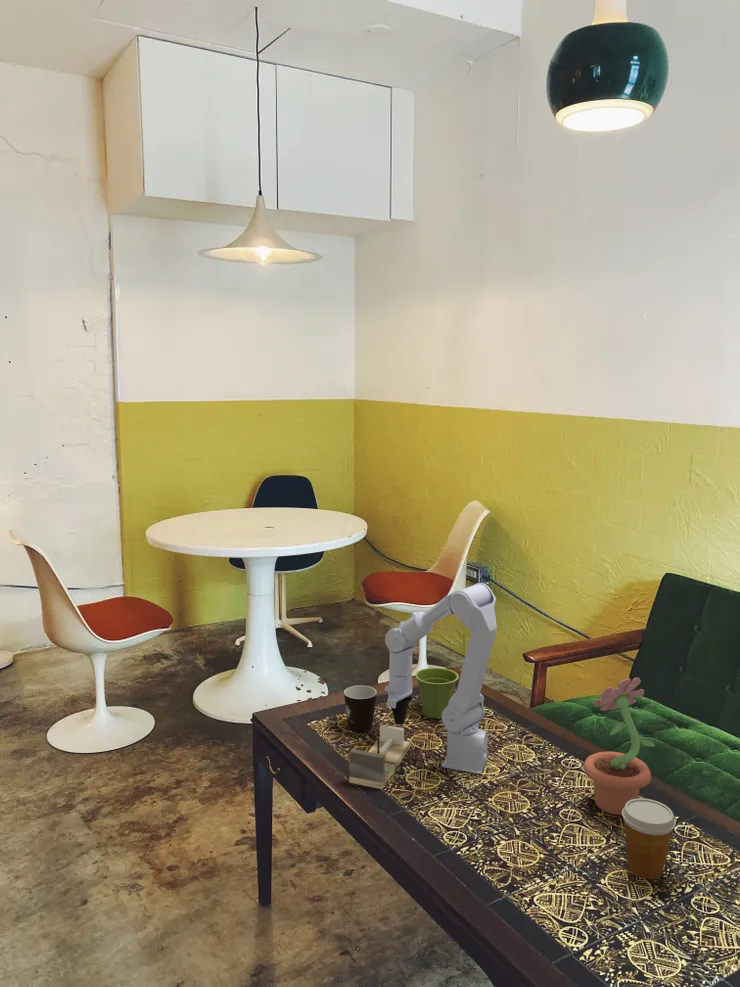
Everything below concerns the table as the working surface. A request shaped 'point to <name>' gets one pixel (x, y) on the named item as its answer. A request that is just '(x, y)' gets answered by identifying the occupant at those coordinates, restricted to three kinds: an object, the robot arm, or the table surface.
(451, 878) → the table surface
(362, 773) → the beige l-shaped stand
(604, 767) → the decorative flower
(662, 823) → the disposable coffee cup
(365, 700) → the coffee mug
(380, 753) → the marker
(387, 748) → the white t-shaped block
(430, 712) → the plant pot
